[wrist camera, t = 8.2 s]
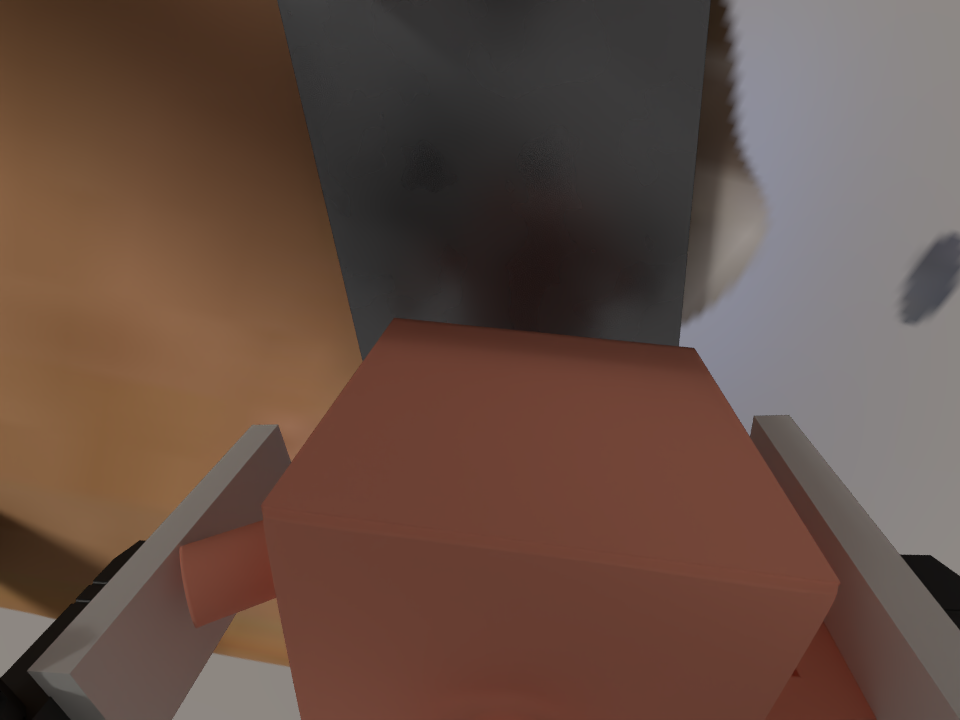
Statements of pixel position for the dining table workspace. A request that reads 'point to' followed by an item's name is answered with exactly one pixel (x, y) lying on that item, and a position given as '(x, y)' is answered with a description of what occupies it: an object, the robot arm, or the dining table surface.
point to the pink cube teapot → (534, 544)
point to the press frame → (506, 158)
